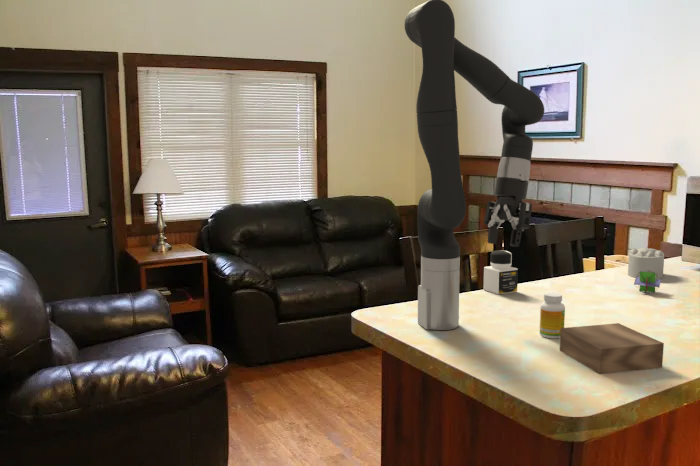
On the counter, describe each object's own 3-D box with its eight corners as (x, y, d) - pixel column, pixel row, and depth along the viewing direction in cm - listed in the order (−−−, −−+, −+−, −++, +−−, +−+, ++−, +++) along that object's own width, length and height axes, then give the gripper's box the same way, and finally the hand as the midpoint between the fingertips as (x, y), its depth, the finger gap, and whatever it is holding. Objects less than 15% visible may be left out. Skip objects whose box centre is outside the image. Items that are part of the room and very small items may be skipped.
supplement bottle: (565, 339, 143) (567, 297, 142) (540, 338, 144) (542, 296, 143) (562, 332, 148) (564, 291, 147) (538, 331, 149) (539, 291, 148)
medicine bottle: (498, 295, 184) (499, 254, 182) (482, 289, 190) (483, 250, 188) (517, 292, 187) (519, 252, 185) (501, 287, 193) (502, 248, 192)
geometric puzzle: (658, 290, 179) (661, 265, 182) (631, 287, 182) (635, 262, 185) (659, 301, 184) (662, 276, 187) (633, 298, 188) (637, 273, 191)
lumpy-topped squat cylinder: (663, 273, 211) (665, 247, 210) (661, 281, 200) (663, 254, 198) (629, 270, 216) (631, 245, 215) (625, 278, 205) (627, 251, 203)
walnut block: (599, 374, 122) (600, 349, 122) (559, 350, 136) (560, 328, 135) (662, 367, 125) (663, 343, 125) (617, 345, 139) (618, 323, 138)
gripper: (482, 176, 158) (472, 240, 158) (520, 174, 145) (509, 245, 145) (506, 181, 161) (496, 244, 161) (545, 180, 148) (534, 249, 148)
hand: (502, 244), depth 153 cm, fingers open, 8 cm apart
